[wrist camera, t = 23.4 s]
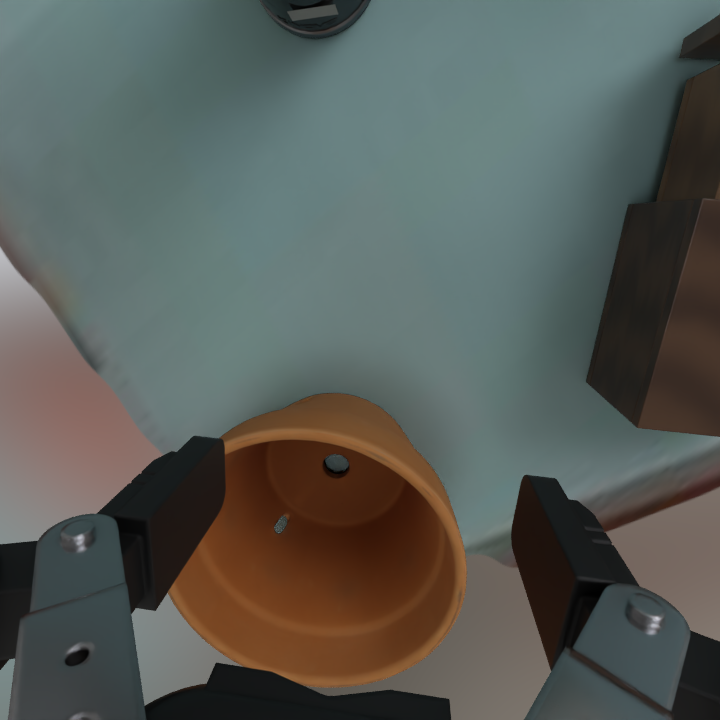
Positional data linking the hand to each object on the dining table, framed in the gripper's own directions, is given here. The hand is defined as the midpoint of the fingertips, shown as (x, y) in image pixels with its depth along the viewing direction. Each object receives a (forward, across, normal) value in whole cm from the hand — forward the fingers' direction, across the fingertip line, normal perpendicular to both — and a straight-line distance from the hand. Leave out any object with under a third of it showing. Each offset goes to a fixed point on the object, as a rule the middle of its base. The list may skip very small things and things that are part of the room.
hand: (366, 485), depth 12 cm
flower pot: (+28, +4, +16) cm, 33 cm away
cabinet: (+28, -24, -2) cm, 37 cm away
